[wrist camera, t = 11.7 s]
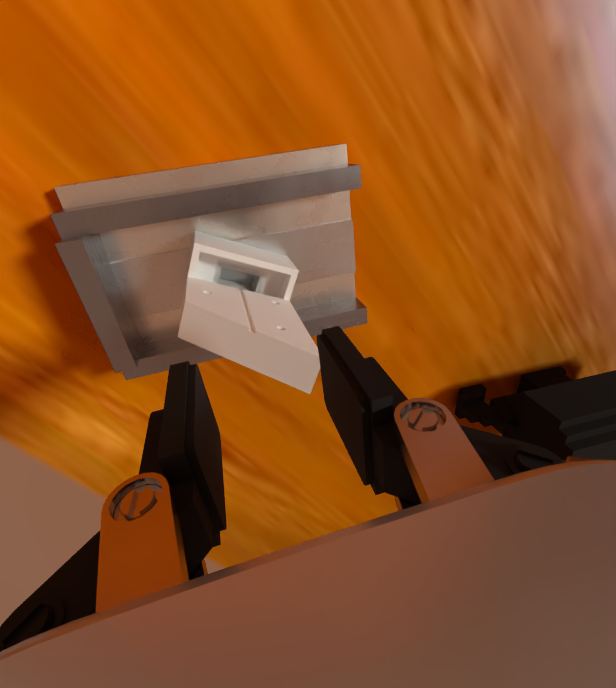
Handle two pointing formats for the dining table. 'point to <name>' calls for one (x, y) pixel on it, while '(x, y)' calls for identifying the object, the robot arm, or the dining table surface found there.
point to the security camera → (551, 413)
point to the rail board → (214, 219)
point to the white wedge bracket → (247, 311)
